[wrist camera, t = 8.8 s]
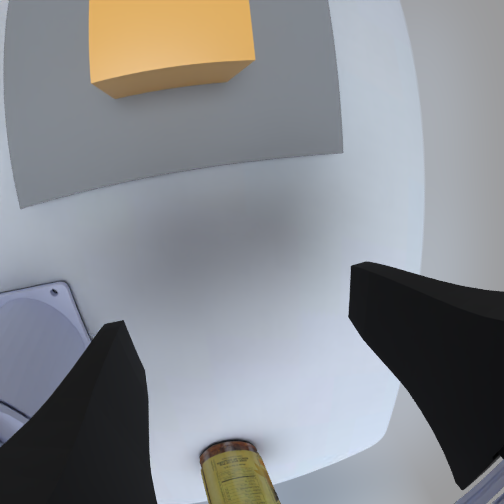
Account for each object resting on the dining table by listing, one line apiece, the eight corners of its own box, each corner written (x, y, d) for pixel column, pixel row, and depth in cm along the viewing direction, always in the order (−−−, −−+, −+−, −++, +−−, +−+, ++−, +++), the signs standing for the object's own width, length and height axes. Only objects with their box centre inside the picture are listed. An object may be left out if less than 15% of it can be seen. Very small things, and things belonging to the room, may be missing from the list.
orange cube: (114, 99, 12) (90, 83, 8) (110, 3, 10) (92, -42, 6) (227, 82, 13) (255, 59, 9) (218, -10, 11) (241, -58, 7)
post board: (30, 202, 14) (-10, 229, 9) (20, -10, 8) (-12, -40, 4) (330, 150, 18) (381, 160, 13) (307, -44, 12) (345, -78, 8)
